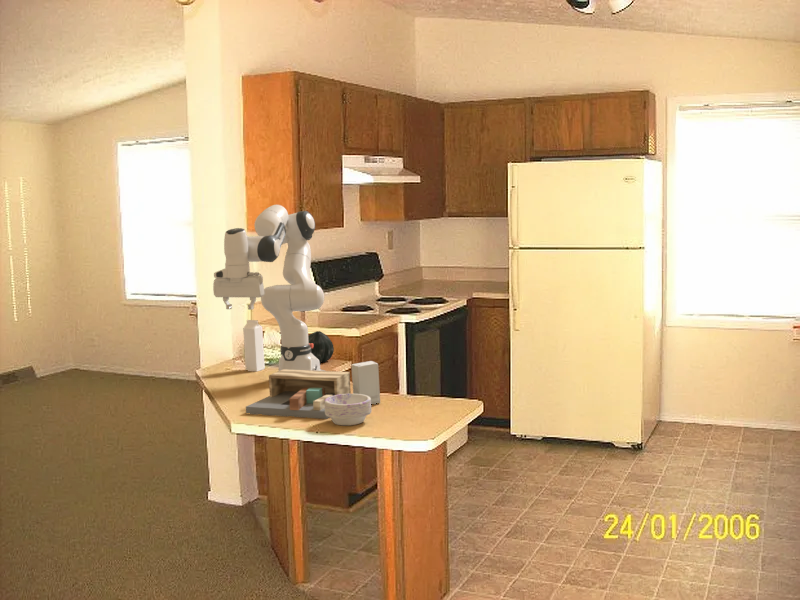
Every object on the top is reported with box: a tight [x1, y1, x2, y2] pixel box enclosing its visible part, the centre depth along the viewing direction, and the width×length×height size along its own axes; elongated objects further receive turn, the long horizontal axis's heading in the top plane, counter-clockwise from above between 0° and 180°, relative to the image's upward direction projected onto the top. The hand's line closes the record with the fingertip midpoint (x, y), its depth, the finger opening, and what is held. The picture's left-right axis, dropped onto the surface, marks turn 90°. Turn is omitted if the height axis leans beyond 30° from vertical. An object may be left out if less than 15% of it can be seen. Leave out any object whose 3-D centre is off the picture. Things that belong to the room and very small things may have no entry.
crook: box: [289, 388, 325, 410], centre depth 297 cm, size 16×8×4 cm, turn 170°
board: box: [245, 391, 335, 420], centre depth 304 cm, size 26×31×2 cm
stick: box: [313, 395, 333, 410], centre depth 293 cm, size 10×2×3 cm, turn 159°
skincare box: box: [351, 360, 381, 405], centre depth 304 cm, size 8×6×15 cm
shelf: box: [268, 369, 352, 397], centre depth 311 cm, size 11×27×8 cm, turn 69°
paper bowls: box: [324, 393, 372, 426], centre depth 281 cm, size 15×15×8 cm
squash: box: [308, 330, 335, 363], centre depth 389 cm, size 14×15×15 cm
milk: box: [242, 319, 266, 372], centre depth 375 cm, size 6×6×22 cm
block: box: [306, 388, 322, 403], centre depth 300 cm, size 4×4×4 cm
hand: (240, 309), depth 321 cm, fingers open, 8 cm apart
